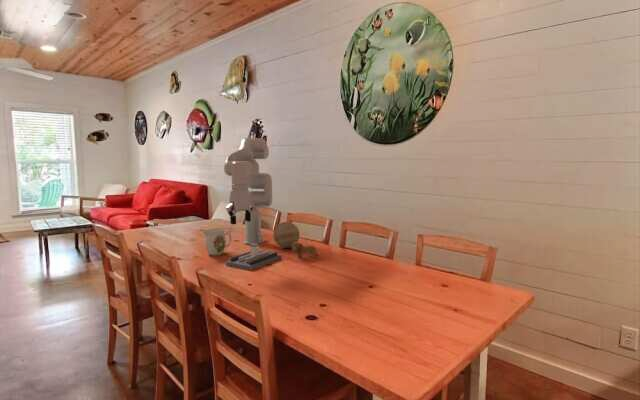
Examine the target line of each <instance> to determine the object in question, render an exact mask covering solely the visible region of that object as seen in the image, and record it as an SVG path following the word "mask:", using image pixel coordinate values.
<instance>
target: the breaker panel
mask: <svg viewBox="0 0 640 400" xmlns="http://www.w3.org/2000/svg"><path fill="white" fill-rule="evenodd" d="M282 258H283V257H282V254H279V253H278V252H277V251H275V252H271V251H270V250H266V251H264V249H259V254H258V255H255V256H252V257H250V251H248V252H245V253H242V254H239V255H236V256H233V257H230V259H229V260H227V261H225V266H226V267H230V268H231V267H233V268H237V269H241V270H246V271H253V270H255V269H256V270H257V269H258V268H260V267H263V266H266V265H268V264H271V263H273V262H275V261H278V259H279V260H281V259H282Z"/></svg>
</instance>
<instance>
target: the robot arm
mask: <svg viewBox="0 0 640 400" xmlns="http://www.w3.org/2000/svg"><path fill="white" fill-rule="evenodd" d="M269 149H270V148H269V147H268V143H267V141H266V140H265V139H264V138H261V137H248V138H247V137H246V138H242V140H241V141H240V143H239V146H238V149H237V150H236V151H234V152H232V153H230V154H228V156H227V157H226V159H225V162H224V166H223V167H224V168H223V171H224V173H225V175H226V176H228V177H231V190H230V194H229V202H228V203H229V204H228V205H227V206H226V207H225V210H226V211H227V214H228V215H229V216H230V217H229V219H230V222H229V223H230V224H231V225H236V224H237V216H236V215H237V213H239V212H244V228H245V229H244V232H245V239H243V240H242V243H243V244H245V245H250V244H253V243H256V244H259V245H261V244H263V243H264V242H265V240H264V239H263V238H265V237H266V234H265V233H262V215H261V214H262V213H261V212H260V210H259V209H258V208H259V207H260V208H268V207H271V206H272V204H273V181H272V180H273V179H272V176H271V174H270V173H268V172H267V173H266V172H265V173H264V172H263V173H261V172H260V164H259V162H258V161H257V160H267V159H268V157H269V154H270V150H269ZM249 189H250V190H249ZM262 190H263V191H262Z"/></svg>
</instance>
